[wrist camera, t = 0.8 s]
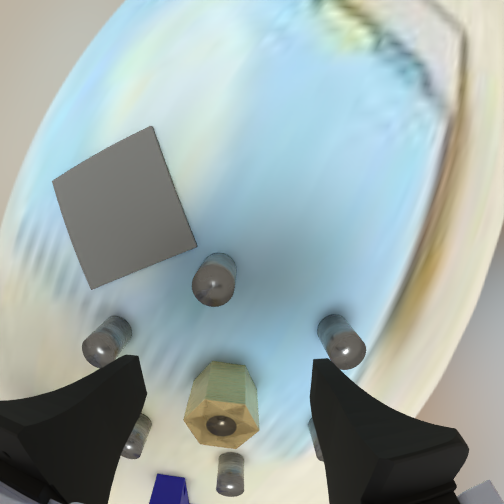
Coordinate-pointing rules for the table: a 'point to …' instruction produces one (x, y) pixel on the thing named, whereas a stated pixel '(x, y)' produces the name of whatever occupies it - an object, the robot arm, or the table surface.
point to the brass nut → (223, 406)
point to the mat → (123, 210)
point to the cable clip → (169, 490)
